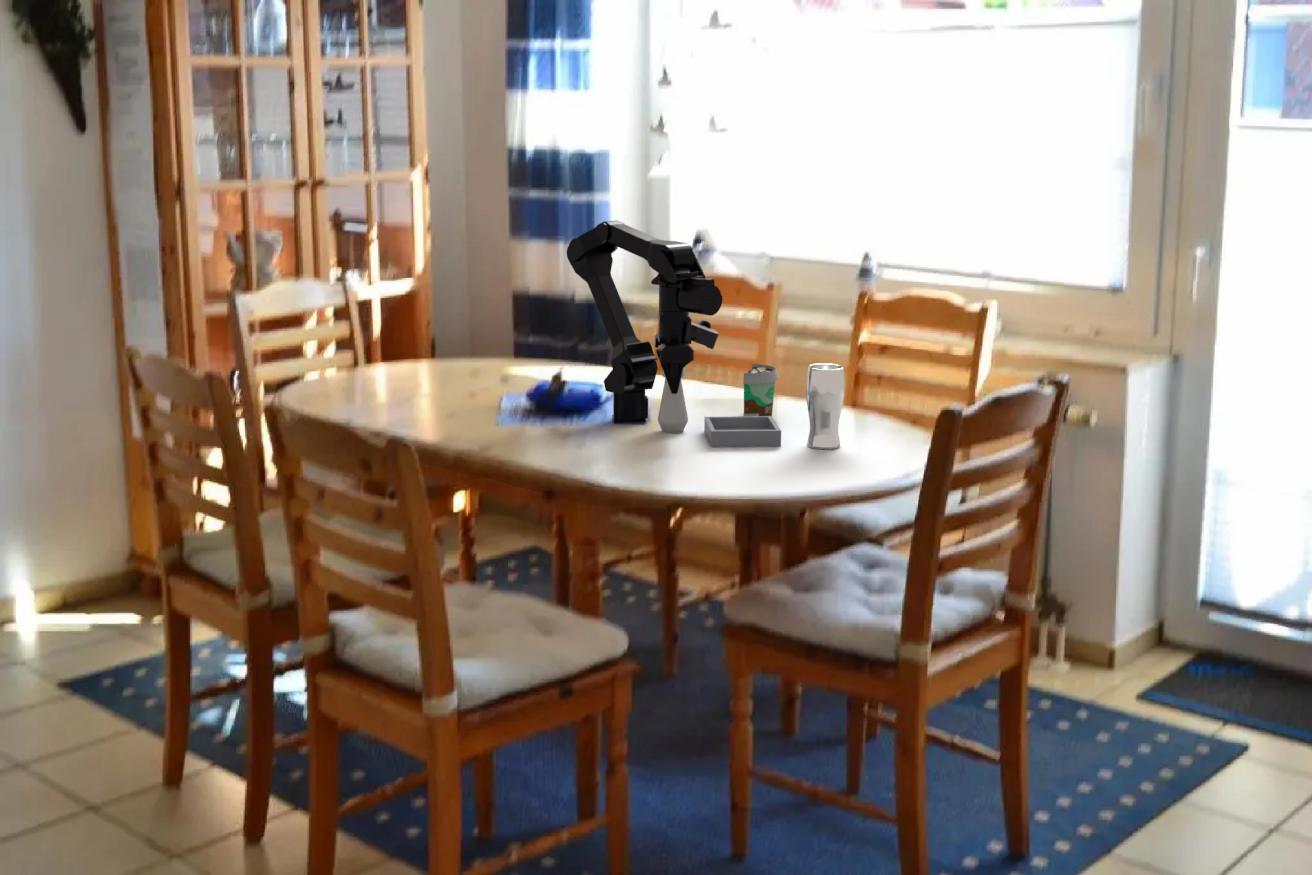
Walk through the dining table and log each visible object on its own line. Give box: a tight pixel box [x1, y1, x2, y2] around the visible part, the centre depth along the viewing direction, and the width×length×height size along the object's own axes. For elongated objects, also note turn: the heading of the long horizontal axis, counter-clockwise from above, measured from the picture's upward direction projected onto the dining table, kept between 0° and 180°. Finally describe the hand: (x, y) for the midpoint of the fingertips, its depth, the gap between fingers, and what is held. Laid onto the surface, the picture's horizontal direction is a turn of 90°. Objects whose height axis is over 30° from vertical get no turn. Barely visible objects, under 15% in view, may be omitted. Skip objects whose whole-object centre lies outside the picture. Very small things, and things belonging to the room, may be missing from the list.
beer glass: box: [805, 363, 845, 451], centre depth 289 cm, size 7×7×15 cm
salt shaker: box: [657, 367, 689, 434], centre depth 301 cm, size 6×6×13 cm
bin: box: [703, 415, 782, 448], centre depth 296 cm, size 13×13×3 cm
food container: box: [742, 362, 780, 417], centre depth 315 cm, size 12×6×10 cm, turn 168°
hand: (673, 390), depth 301 cm, fingers open, 6 cm apart
